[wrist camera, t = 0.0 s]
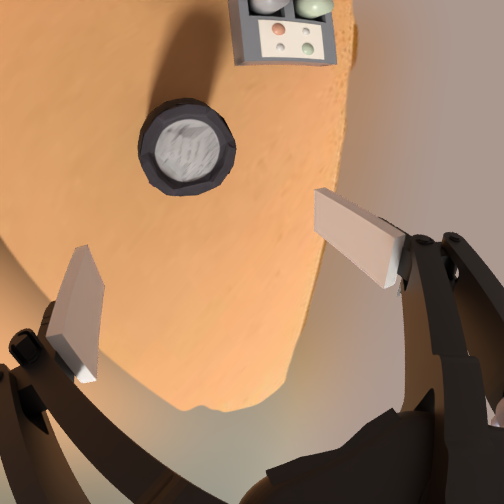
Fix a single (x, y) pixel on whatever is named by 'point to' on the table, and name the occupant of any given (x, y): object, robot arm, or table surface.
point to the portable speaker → (185, 148)
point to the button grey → (266, 6)
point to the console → (280, 37)
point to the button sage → (312, 8)
